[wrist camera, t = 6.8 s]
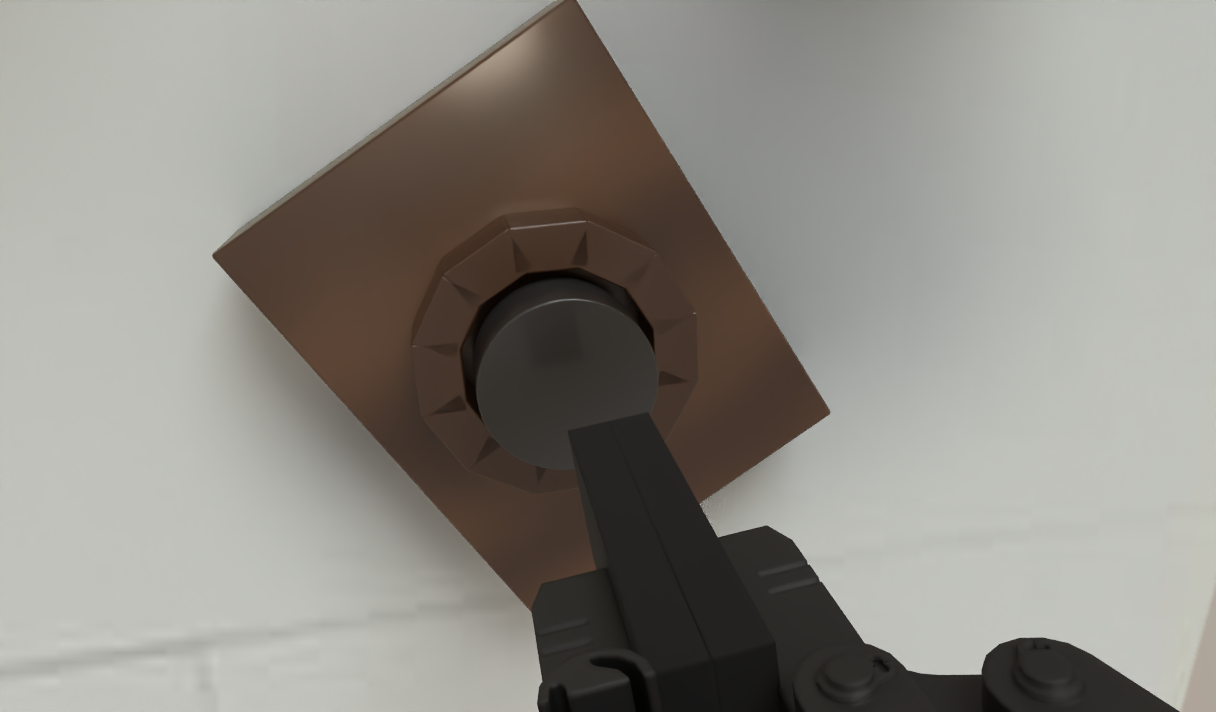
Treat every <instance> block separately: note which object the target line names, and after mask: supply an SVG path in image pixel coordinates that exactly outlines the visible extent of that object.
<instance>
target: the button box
mask: <svg viewBox="0 0 1216 712" xmlns="http://www.w3.org/2000/svg"><path fill="white" fill-rule="evenodd" d="M212 256H213V258H214V260H215V261H216V262H217V263H218V264H219V265H220V266H221V267H222V268H223V270H224V271H225V272H226V273H227V274H228V275H229V276H230V277H231V278H232V280H233V281H234V282H235V283H236V284H237V285H238V286H239V287H240V288H241V290H242V291H243V292H244V293H245V294H246V295H247V296H248V297H249V298H250V300H251V301H252V302H253V303H254V304H255V305H256V306H257V307H258V308H259V310H260V311H261V312H262V313H263V314H264V315H265V316H266V317H267V319H268V320H269V321H270V322H271V323H272V324H273V325H274V326H275V327H276V329H277V330H278V331H279V332H280V333H281V334H282V335H283V336H284V337H285V339H286V340H287V341H288V342H289V343H290V344H291V345H292V346H293V347H294V349H295V350H296V351H297V352H298V353H299V354H300V355H301V356H302V357H303V359H304V360H305V361H306V362H307V363H308V364H309V365H310V366H311V367H312V369H313V370H314V371H315V372H316V373H317V374H318V375H319V376H320V377H321V379H322V380H323V381H324V382H325V383H326V384H327V385H328V386H329V387H330V389H331V390H332V391H333V392H334V393H335V394H336V395H337V396H338V397H339V399H340V400H341V401H342V402H343V403H344V404H345V405H346V406H347V408H348V409H349V410H350V411H351V412H352V413H353V414H354V415H355V416H356V418H357V419H358V420H359V421H360V422H361V423H362V424H363V425H364V426H365V428H366V429H367V430H368V431H369V432H370V433H371V434H372V435H373V436H374V438H375V439H376V440H377V441H378V442H379V443H380V444H381V445H382V446H383V448H384V449H385V450H386V451H387V452H388V453H389V454H390V455H391V456H392V458H393V459H394V460H395V461H396V462H397V463H398V464H399V465H400V466H401V468H402V469H403V470H404V471H405V472H406V473H407V474H408V475H409V476H410V478H411V479H412V480H413V481H414V482H415V483H416V484H417V485H418V486H419V488H420V489H421V490H422V491H423V492H424V493H425V494H426V495H427V497H428V498H429V499H430V500H431V501H432V502H433V503H434V504H435V505H436V507H437V508H438V509H439V510H440V511H441V512H442V513H443V514H444V515H445V517H446V518H447V519H448V520H449V521H450V522H451V523H452V524H453V525H454V527H455V528H456V529H457V530H458V531H459V532H460V533H461V534H462V535H463V537H464V538H465V539H466V540H467V541H468V542H469V543H470V544H471V545H472V547H473V548H474V549H475V550H476V551H477V552H478V553H479V554H480V555H481V557H482V558H483V559H484V560H485V561H486V562H487V563H488V564H489V565H490V567H491V568H492V569H493V570H494V571H495V572H496V573H497V574H498V575H499V577H500V578H501V579H502V580H503V581H504V582H505V583H506V584H507V586H508V587H509V588H510V589H511V590H512V591H513V592H514V593H515V594H516V596H517V597H518V598H519V599H520V600H521V601H522V602H523V603H524V604H525V606H526V607H527V608H528V609H529V610H530V611H531V612H532V610H531V607H532V605H533V602H534V600H535V598H536V595H537V593H538V591H539V588H540V586H541V584H542V583H546V582H550V581H554V580H558V579H562V578H566V577H570V576H574V575H578V574H582V573H586V572H590V571H594V570H597V569H596V565H595V562H594V558H593V554H592V549H591V544H590V539H589V534H588V529H587V524H586V519H585V515H584V510H583V505H582V500H581V495H580V490H579V485H578V480H577V475H576V470H575V469H567V470H560V469H549V468H542V467H539V466H535V465H532V464H529V463H527V462H525V461H522V460H520V459H518V458H517V457H515V456H513V455H512V454H510V453H509V452H508V451H506V450H505V449H504V448H503V447H502V446H501V445H500V444H499V443H498V442H497V441H496V440H495V439H494V438H493V436H492V435H491V434H490V432H489V431H488V429H487V427H486V425H485V423H484V422H483V419H482V417H481V414H480V411H479V407H478V402H477V396H476V387H475V379H474V370H473V353H474V346H475V342H476V338H477V335H478V333H479V330H480V328H481V326H482V324H483V322H484V320H485V318H486V317H487V316H488V314H489V313H490V312H491V310H492V309H493V308H494V307H495V306H496V305H497V304H498V303H499V302H500V301H501V300H502V299H503V298H504V297H506V296H507V295H508V294H510V293H511V292H513V291H514V290H516V289H518V288H520V287H522V286H524V285H526V284H528V283H531V282H535V281H538V280H542V279H548V278H559V277H565V278H575V279H579V280H584V281H587V282H590V283H593V284H595V285H597V286H599V287H601V288H603V289H605V290H606V291H608V292H609V293H611V294H612V295H613V296H615V297H616V298H617V299H618V300H619V301H620V302H621V303H622V304H623V305H624V307H625V308H626V309H627V310H628V312H629V313H630V315H631V316H632V317H633V319H634V320H635V321H636V323H637V324H638V326H639V327H640V328H641V330H642V331H643V333H644V334H645V336H646V337H647V339H648V341H649V342H650V344H651V347H652V349H653V351H654V354H655V358H656V362H657V367H658V390H657V397H656V400H655V404H654V407H653V410H652V412H651V414H650V416H651V418H652V420H653V422H654V423H655V425H656V427H657V429H658V431H659V432H660V434H661V436H662V438H663V440H664V442H665V443H666V445H667V447H668V449H669V451H670V452H671V454H672V456H673V458H674V460H675V461H676V463H677V465H678V467H679V469H680V470H681V472H682V474H683V476H684V478H685V479H686V481H687V483H688V485H689V487H690V488H691V490H692V492H693V494H694V496H695V497H696V499H697V501H698V503H699V504H700V503H701V502H702V501H704V500H705V499H707V498H708V497H710V496H711V495H713V494H714V493H716V492H717V491H718V490H720V489H721V488H723V487H724V486H726V485H727V484H729V483H730V482H732V481H733V480H735V479H736V478H737V477H739V476H740V475H742V474H743V473H745V472H746V471H748V470H749V469H751V468H752V467H753V466H755V465H756V464H758V463H759V462H761V461H762V460H764V459H765V458H767V457H768V456H769V455H771V454H772V453H774V452H775V451H777V450H778V449H780V448H781V447H783V446H784V445H785V444H787V443H788V442H790V441H791V440H793V439H794V438H796V437H797V436H799V435H800V434H801V433H803V432H804V431H806V430H807V429H809V428H810V427H812V426H813V425H815V424H816V423H817V422H819V421H820V420H822V419H823V418H825V417H826V416H828V415H829V414H830V410H829V408H828V406H827V405H826V403H825V402H824V400H823V398H822V397H821V395H820V394H819V392H818V390H817V389H816V387H815V385H814V384H813V382H812V381H811V379H810V377H809V376H808V374H807V373H806V371H805V369H804V368H803V366H802V364H801V363H800V361H799V360H798V358H797V356H796V355H795V353H794V351H793V350H792V348H791V347H790V345H789V343H788V342H787V340H786V339H785V337H784V335H783V334H782V332H781V330H780V329H779V327H778V326H777V324H776V322H775V321H774V319H773V318H772V316H771V314H770V313H769V311H768V309H767V308H766V306H765V305H764V303H763V301H762V300H761V298H760V297H759V295H758V293H757V292H756V290H755V288H754V287H753V285H752V284H751V282H750V280H749V279H748V277H747V275H746V274H745V272H744V271H743V269H742V267H741V266H740V264H739V263H738V261H737V259H736V258H735V256H734V254H733V253H732V251H731V250H730V248H729V246H728V245H727V243H726V242H725V240H724V238H723V237H722V235H721V233H720V232H719V230H718V229H717V227H716V225H715V224H714V222H713V221H712V219H711V217H710V216H709V214H708V212H707V211H706V209H705V208H704V206H703V204H702V203H701V201H700V199H699V198H698V196H697V195H696V193H695V191H694V190H693V188H692V187H691V185H690V183H689V182H688V180H687V178H686V177H685V175H684V174H683V172H682V170H681V169H680V167H679V166H678V164H677V162H676V161H675V159H674V157H673V156H672V154H671V153H670V151H669V149H668V148H667V146H666V145H665V143H664V141H663V140H662V138H661V136H660V135H659V133H658V132H657V130H656V128H655V127H654V125H653V124H652V122H651V120H650V119H649V117H648V115H647V114H646V112H645V111H644V109H643V107H642V106H641V104H640V102H639V101H638V99H637V98H636V96H635V94H634V93H633V91H632V90H631V88H630V86H629V85H628V83H627V81H626V80H625V78H624V77H623V75H622V73H621V72H620V70H619V69H618V67H617V65H616V64H615V62H614V60H613V59H612V57H611V56H610V54H609V52H608V51H607V49H606V48H605V46H604V44H603V43H602V41H601V39H600V38H599V36H598V35H597V33H596V31H595V30H594V28H593V26H592V25H591V23H590V22H589V20H588V18H587V17H586V15H585V14H584V12H583V10H582V9H581V7H580V5H579V4H578V2H577V1H576V0H557V1H554V2H553V3H551V4H550V5H549V6H547V7H546V8H544V9H543V10H542V11H540V12H539V13H538V14H536V15H535V16H533V17H532V18H531V19H529V20H528V21H526V22H525V23H524V24H522V25H521V26H520V27H518V28H517V29H515V30H514V31H513V32H511V33H510V34H508V35H507V36H506V37H504V38H503V39H502V40H500V41H499V42H497V43H496V44H495V45H493V46H492V47H490V48H489V49H488V50H486V51H485V52H484V53H482V54H481V55H479V56H478V57H477V58H475V59H474V60H472V61H471V62H470V63H468V64H467V65H466V66H464V67H463V68H461V69H460V70H459V71H457V72H456V73H454V74H453V75H452V76H450V77H449V78H448V79H446V80H445V81H443V82H442V83H441V84H439V85H438V86H436V87H435V88H434V89H432V90H431V91H430V92H428V93H427V94H425V95H424V96H423V97H421V98H420V99H418V100H417V101H416V102H414V103H413V104H412V105H410V106H409V107H407V108H406V109H405V110H403V111H402V112H400V113H399V114H398V115H396V116H395V117H394V118H392V119H391V120H389V121H388V122H387V123H385V124H384V125H383V126H381V127H380V128H378V129H377V130H376V131H374V132H373V133H371V134H370V135H369V136H367V137H366V138H365V139H363V140H362V141H360V142H359V143H358V144H356V145H355V146H353V147H352V148H351V149H349V150H348V151H347V152H345V153H344V154H342V155H341V156H340V157H338V158H337V159H335V160H334V161H333V162H331V163H330V164H329V165H327V166H326V167H324V168H323V169H322V170H320V171H319V172H317V173H316V174H315V175H313V176H312V177H311V178H309V179H308V180H306V181H305V182H304V183H302V184H301V185H299V186H298V187H297V188H295V189H294V190H293V191H291V192H290V193H288V194H287V195H286V196H284V197H283V198H281V199H280V200H279V201H277V202H276V203H275V204H273V205H272V206H270V207H269V208H268V209H266V210H265V211H263V212H262V213H261V214H259V215H258V216H257V217H255V218H254V219H252V220H251V221H250V222H248V223H247V224H245V225H244V226H243V227H241V228H240V229H239V230H238V231H236V232H235V233H234V234H233V235H232V236H231V237H230V238H229V239H228V240H227V241H226V242H225V243H224V244H223V245H222V246H221V247H219V248H218V249H217V250H216V251H215V252H214V253H213V255H212Z"/></svg>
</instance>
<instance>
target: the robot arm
mask: <svg viewBox="0 0 1216 712" xmlns="http://www.w3.org/2000/svg"><path fill="white" fill-rule="evenodd" d="M567 431H568V436H569V441H570V446H571V451H572V456H573V461H574V465H575V470H576V475H577V480H578V485H579V490H580V495H581V500H582V505H583V510H584V515H585V519H586V524H587V529H588V534H589V539H590V544H591V549H592V554H593V558H594V562H595V565H596V569H597V570H594V571H590V572H586V573H582V574H578V575H574V576H570V577H566V578H562V579H558V580H554V581H550V582H546V583H542V584H541V586H540V588H539V591H538V593H537V595H536V598H535V600H534V602H533V605H532V607H531V610H532V617H533V623H534V630H535V635H536V642H537V649H538V654H539V662H540V668H541V675H542V681H543V682H542V684H541V685H540V687H539V693H538V701H537V705H538V709H539V712H1179V711H1178V710H1176V709H1175V708H1173V707H1172V706H1170V705H1169V704H1167V703H1165V702H1164V701H1162V700H1161V699H1159V698H1158V697H1156V696H1155V695H1153V694H1152V693H1150V692H1149V691H1147V690H1145V689H1144V688H1142V687H1141V686H1139V685H1138V684H1136V683H1135V682H1133V681H1132V680H1130V679H1128V678H1127V677H1125V676H1124V675H1122V674H1121V673H1119V672H1118V671H1116V670H1115V669H1113V668H1111V667H1110V666H1108V665H1107V664H1105V663H1104V662H1102V661H1101V660H1099V659H1098V658H1096V657H1094V656H1093V655H1091V654H1090V653H1087V652H1085V651H1083V650H1081V649H1079V648H1077V647H1075V646H1073V645H1071V644H1069V643H1065V642H1060V641H1056V640H1051V639H1047V638H1018V639H1015V640H1011V641H1008V642H1005V643H1002V644H999V645H998V646H997V647H995V648H994V649H993V650H992V651H991V652H989V653H988V654H987V655H986V658H985V661H984V664H983V667H982V675H932V674H920V673H916V672H912V671H908V670H906V668H905V667H904V666H903V665H902V664H901V663H900V662H899V661H898V660H897V659H895V658H894V657H893V656H892V655H891V654H890V653H888V652H886V651H884V650H881V649H879V648H877V647H874V646H872V645H869V644H865V643H864V642H863V640H862V639H861V637H860V636H859V635H858V633H857V632H856V630H855V629H854V627H853V626H852V625H851V623H850V622H849V620H848V619H847V617H846V616H845V615H844V613H843V612H842V610H841V609H840V607H839V606H838V605H837V603H836V602H835V600H834V599H833V597H832V596H831V595H830V593H829V592H828V590H827V589H826V587H825V586H824V585H823V583H822V582H820V581H819V578H818V576H817V575H816V573H815V572H814V570H813V569H812V567H811V566H810V565H808V564H807V560H806V559H805V557H804V556H803V555H802V553H801V552H800V550H799V549H798V548H797V546H796V545H795V543H794V542H793V540H791V539H790V538H788V537H786V536H784V535H783V534H781V533H779V532H777V531H776V530H774V529H772V528H770V527H769V526H763V527H759V528H754V529H750V530H746V531H742V532H738V533H734V534H730V535H726V536H722V537H717V535H716V534H715V532H714V530H713V528H712V526H711V525H710V523H709V521H708V519H707V517H706V515H705V514H704V512H703V510H702V508H701V506H700V505H699V503H698V501H697V499H696V497H695V496H694V494H693V492H692V490H691V488H690V487H689V485H688V483H687V481H686V479H685V478H684V476H683V474H682V472H681V470H680V469H679V467H678V465H677V463H676V461H675V460H674V458H673V456H672V454H671V452H670V451H669V449H668V447H667V445H666V443H665V442H664V440H663V438H662V436H661V434H660V432H659V431H658V429H657V427H656V425H655V423H654V422H653V420H652V418H651V416H650V414H649V413H648V412H646V413H642V414H637V415H633V416H628V417H624V418H620V419H615V420H611V421H607V422H602V423H598V424H594V425H589V426H585V427H580V428H576V429H572V430H567Z"/></svg>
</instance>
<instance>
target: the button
mask: <svg viewBox="0 0 1216 712" xmlns="http://www.w3.org/2000/svg"><path fill="white" fill-rule="evenodd" d="M473 370H474V379H475V387H476V396H477V402H478V407H479V411H480V414H481V417H482V419H483V422H484V423H485V425H486V427H487V429H488V431H489V432H490V434H491V435H492V436H493V438H494V439H495V440H496V441H497V442H498V443H499V444H500V445H501V446H502V447H503V448H504V449H505V450H506V451H508V452H509V453H510V454H512V455H513V456H515V457H517V458H518V459H520V460H522V461H525V462H527V463H529V464H532V465H535V466H539V467H542V468H549V469H560V470H567V469H575V465H574V461H573V456H572V451H571V446H570V441H569V436H568V431H567V430H572V429H576V428H580V427H585V426H589V425H594V424H598V423H602V422H607V421H611V420H615V419H620V418H624V417H628V416H633V415H637V414H642V413H646V412H648V413H649V414H651V412H652V410H653V407H654V404H655V400H656V397H657V390H658V367H657V362H656V358H655V354H654V351H653V349H652V347H651V344H650V342H649V341H648V339H647V337H646V336H645V334H644V333H643V331H642V330H641V328H640V327H639V326H638V324H637V323H636V321H635V320H634V319H633V317H632V316H631V315H630V313H629V312H628V310H627V309H626V308H625V307H624V305H623V304H622V303H621V302H620V301H619V300H618V299H617V298H616V297H615V296H613V295H612V294H611V293H609V292H608V291H606V290H605V289H603V288H601V287H599V286H597V285H595V284H593V283H590V282H587V281H584V280H579V279H575V278H565V277H559V278H548V279H542V280H538V281H535V282H531V283H528V284H526V285H524V286H522V287H520V288H518V289H516V290H514V291H513V292H511V293H510V294H508V295H507V296H506V297H504V298H503V299H502V300H501V301H500V302H499V303H498V304H497V305H496V306H495V307H494V308H493V309H492V310H491V312H490V313H489V314H488V316H487V317H486V318H485V320H484V322H483V324H482V326H481V328H480V330H479V333H478V335H477V338H476V342H475V346H474V353H473Z"/></svg>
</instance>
